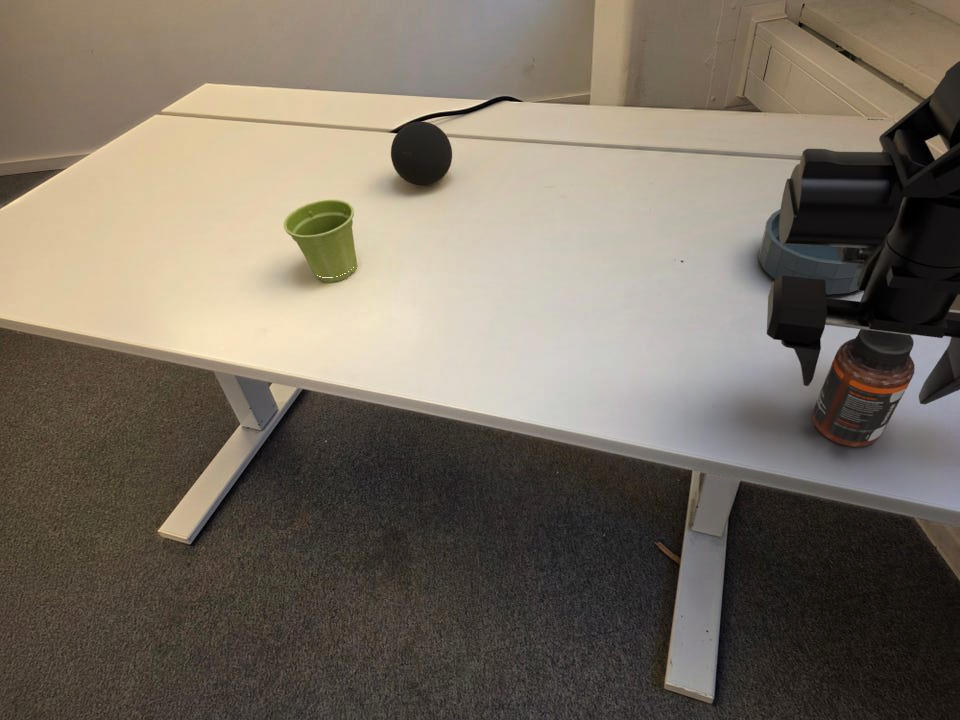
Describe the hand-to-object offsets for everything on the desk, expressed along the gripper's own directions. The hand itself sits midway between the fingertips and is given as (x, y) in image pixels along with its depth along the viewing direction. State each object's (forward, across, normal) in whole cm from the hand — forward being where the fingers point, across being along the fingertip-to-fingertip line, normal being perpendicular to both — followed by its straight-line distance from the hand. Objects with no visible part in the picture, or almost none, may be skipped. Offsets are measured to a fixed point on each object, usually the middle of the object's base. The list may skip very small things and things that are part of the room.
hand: (862, 391), depth 55 cm
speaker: (+5, +61, -39) cm, 73 cm away
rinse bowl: (+5, +2, -26) cm, 27 cm away
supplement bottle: (+5, 0, 0) cm, 5 cm away
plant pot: (+5, +64, -13) cm, 66 cm away
